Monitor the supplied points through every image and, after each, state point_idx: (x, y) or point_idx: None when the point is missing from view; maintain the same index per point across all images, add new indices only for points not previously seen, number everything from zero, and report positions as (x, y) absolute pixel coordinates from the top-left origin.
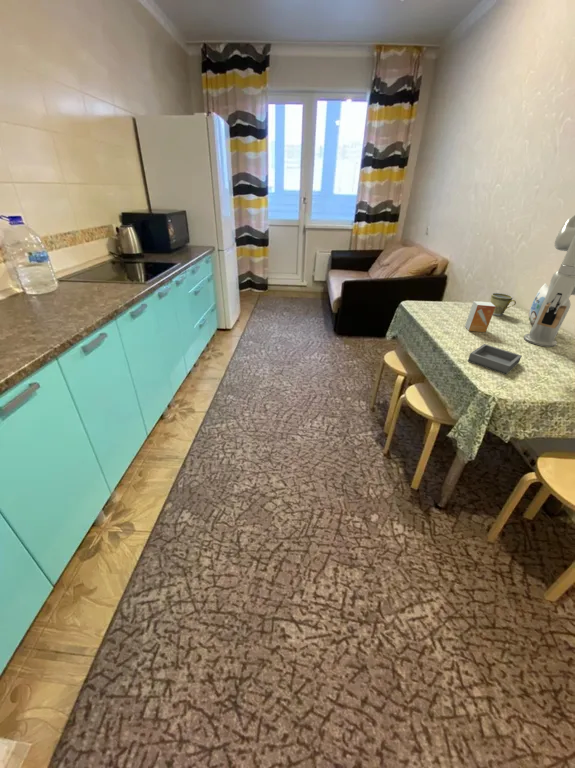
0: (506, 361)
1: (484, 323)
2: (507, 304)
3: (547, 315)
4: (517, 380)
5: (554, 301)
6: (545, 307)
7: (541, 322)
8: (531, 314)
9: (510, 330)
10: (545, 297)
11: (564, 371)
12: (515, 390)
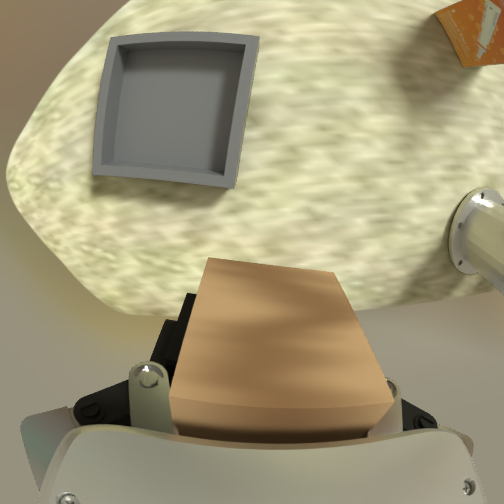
0: (201, 144)
1: (477, 48)
2: None
3: (152, 357)
4: (99, 205)
5: (36, 473)
6: (173, 382)
7: (187, 293)
8: None
9: None
10: None
11: None
12: (50, 213)
